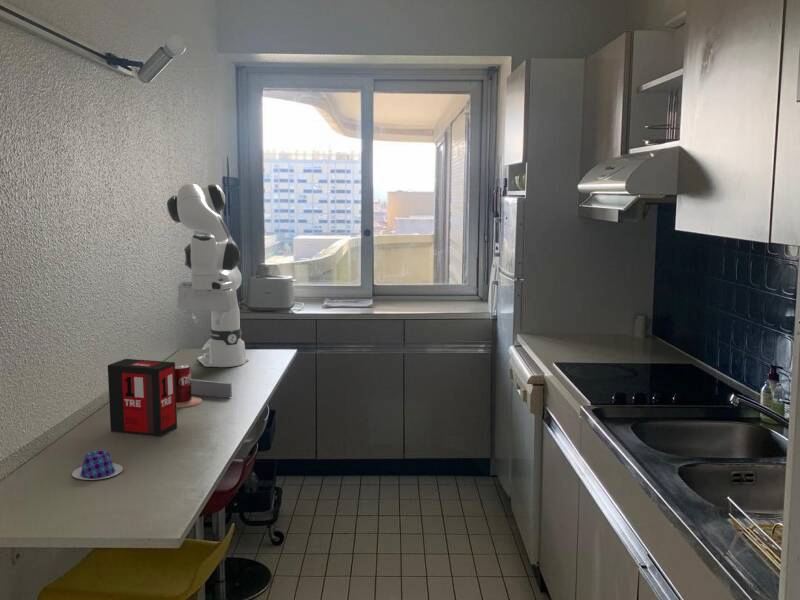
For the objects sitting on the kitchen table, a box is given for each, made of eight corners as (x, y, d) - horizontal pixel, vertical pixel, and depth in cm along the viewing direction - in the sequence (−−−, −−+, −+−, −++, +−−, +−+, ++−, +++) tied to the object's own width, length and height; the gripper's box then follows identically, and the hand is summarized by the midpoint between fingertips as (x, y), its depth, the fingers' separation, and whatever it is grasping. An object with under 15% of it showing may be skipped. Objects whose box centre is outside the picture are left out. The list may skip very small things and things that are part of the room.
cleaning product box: (110, 431, 237) (107, 365, 234) (128, 423, 246) (125, 358, 243) (160, 436, 233) (158, 369, 230) (177, 427, 241) (174, 362, 238)
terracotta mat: (155, 401, 270) (155, 400, 270) (193, 395, 278) (193, 394, 278) (169, 410, 260) (169, 409, 260) (208, 403, 267) (208, 402, 267)
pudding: (102, 462, 212) (101, 443, 212) (133, 471, 206) (132, 451, 205) (62, 476, 203) (60, 456, 202) (92, 486, 196) (91, 465, 195)
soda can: (194, 398, 272) (193, 363, 270) (187, 404, 265) (186, 368, 263) (173, 398, 272) (172, 363, 271) (166, 404, 265) (164, 368, 263)
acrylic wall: (170, 391, 282) (169, 377, 282) (172, 390, 283) (171, 377, 282) (230, 398, 274) (229, 383, 273) (231, 397, 275) (231, 383, 274)
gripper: (172, 282, 270) (174, 323, 272) (227, 285, 264) (229, 326, 266) (182, 280, 276) (184, 320, 278) (236, 282, 270) (238, 323, 272)
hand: (206, 323), depth 272 cm, fingers open, 8 cm apart
